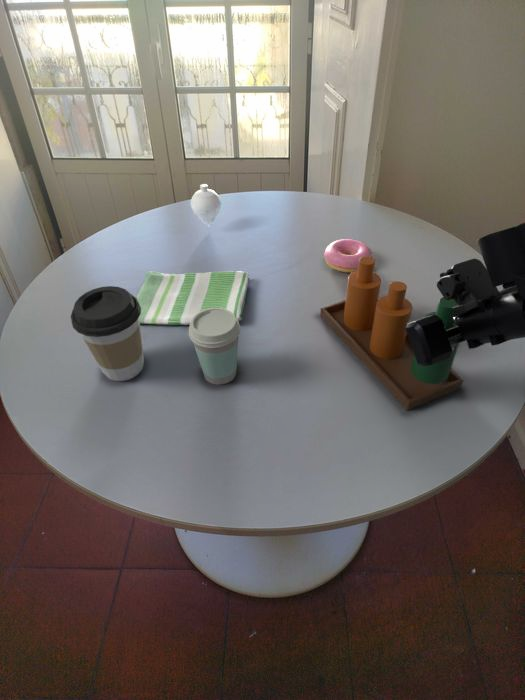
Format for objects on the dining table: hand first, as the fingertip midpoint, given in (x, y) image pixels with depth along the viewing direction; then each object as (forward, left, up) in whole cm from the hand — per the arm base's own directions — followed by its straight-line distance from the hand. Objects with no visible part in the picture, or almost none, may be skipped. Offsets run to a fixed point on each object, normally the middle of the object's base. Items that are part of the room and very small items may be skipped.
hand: (433, 333), depth 73 cm
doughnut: (+31, -26, -12) cm, 42 cm away
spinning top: (+69, -18, -12) cm, 72 cm away
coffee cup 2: (+29, +19, -12) cm, 37 cm away
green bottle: (-1, +1, -7) cm, 7 cm away
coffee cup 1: (+44, +29, -12) cm, 54 cm away
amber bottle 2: (+9, -4, -11) cm, 15 cm away
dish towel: (+49, +7, -12) cm, 51 cm away
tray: (+9, -4, -11) cm, 15 cm away
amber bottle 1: (+17, -8, -11) cm, 22 cm away
